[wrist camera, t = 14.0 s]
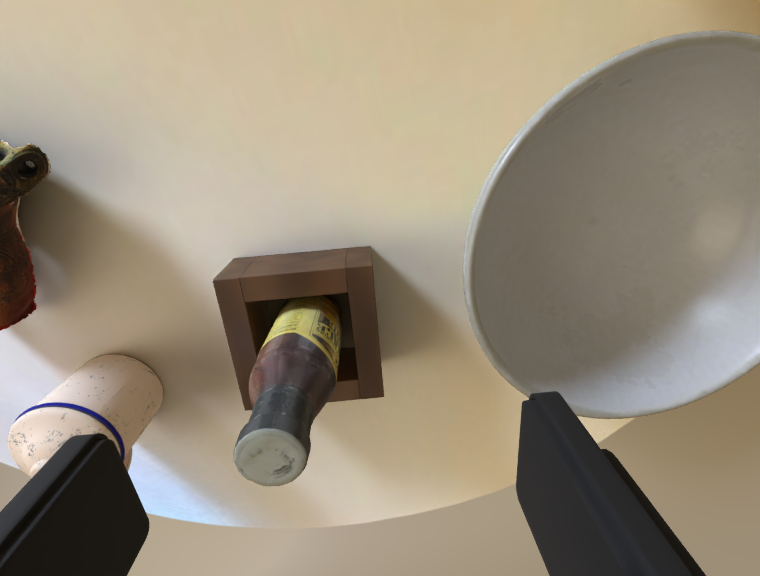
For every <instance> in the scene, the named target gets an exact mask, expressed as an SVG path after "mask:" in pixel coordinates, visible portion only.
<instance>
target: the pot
mask: <svg viewBox="0 0 760 576" xmlns="http://www.w3.org/2000/svg"><path fill="white" fill-rule="evenodd" d="M27 161H30V162H31V163H33V165H35V166H34V167H33V168H32V167H29V166H28V165H27V164H26V162H27ZM50 169H51V166H50V164H49V159H48V158H47V155H46V154H45V153H43V152H42V151H41V150H40V148H39V147H36V146H35V145H32V144H30V143H28V144H27V145H25V146H22V147H16V148H14V149H13V148H12V147H10V146H9V143H7V142H4V141H3V140H2V141H0V330H2V329H6V328H8V327H10V326H11V325H14V324H16V323H17V322H20V321H21V320H22V319H25V318H26V317H27V316H28V314H32V312H33V311H34V310H36V306H37V305H36V303H34V301H35V300H34V298H35V294H36V285H34V284H35V276H34V274H33V265H32V257H31V255H30V250H29V248H28V247H26V246H27V245H26V244H25V239H24V238H23V233H22V232H21V229H20V228H19V221H18V217H17V215H18V214H17V213H18V206H19V204H20V198H19V197H20V196H21V197H24V196H25V195H27V194H28V193H30V192H31V190H32V189H33V188H35V187H36V185H37V184H38V183H39V182H41V181H44V180H45V178H46V177H47V176H48V173H50V172H51V171H50ZM33 300H34V301H33Z"/></svg>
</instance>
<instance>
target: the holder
mask: <svg viewBox="0 0 760 576" xmlns="http://www.w3.org/2000/svg"><path fill="white" fill-rule="evenodd" d="M213 284H214V288H215V292H216V296H217V300H218V304H219V308H220V312H221V316H222V320H223V324H224V328H225V332H226V336H227V340H228V344H229V348H230V352H231V356H232V360H233V364H234V368H235V372H236V376H237V380H238V384H239V388H240V392H241V396H242V400H243V404H244V408H245V410H253V406H252V405H251V400H250V396H249V379H250V375H251V372H252V369H253V367H254V365H255V363H256V361H257V357H258V354H259V352H260V350H261V348H262V346H263V344H264V342H265V340H266V338H267V336H268V334H269V332H270V331H271V325H270V320H269V315H268V310H267V305H266V300H274V299H285V298H296V297H307V296H318V295H328V294H339V293H348V294H349V303H350V312H351V320H352V329H353V337H354V346H355V347H354V348H343V349H340V356H339V365H338V373H337V381H336V387H335V390H334V393H333V394H332V396H331V397H330V399H329V400H328V401H327V402H336V401H346V400H356V399H360V398H361V399H368V398H378V397H384V390H383V379H382V368H381V357H380V346H379V335H378V324H377V312H376V301H375V290H374V279H373V268H372V259H371V250H370V246H366V247H355V248H344V249H333V250H322V251H311V252H300V253H289V254H278V255H267V256H257V257H245V258H234V259H233V260H232V261H231V262H230V263H229V264H228V265H227V266H226V267H225V268H224V269H223V270H222V271H221V272H220V273H219V274H218V275H217V276H216V277H215V278H214V279H213Z"/></svg>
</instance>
